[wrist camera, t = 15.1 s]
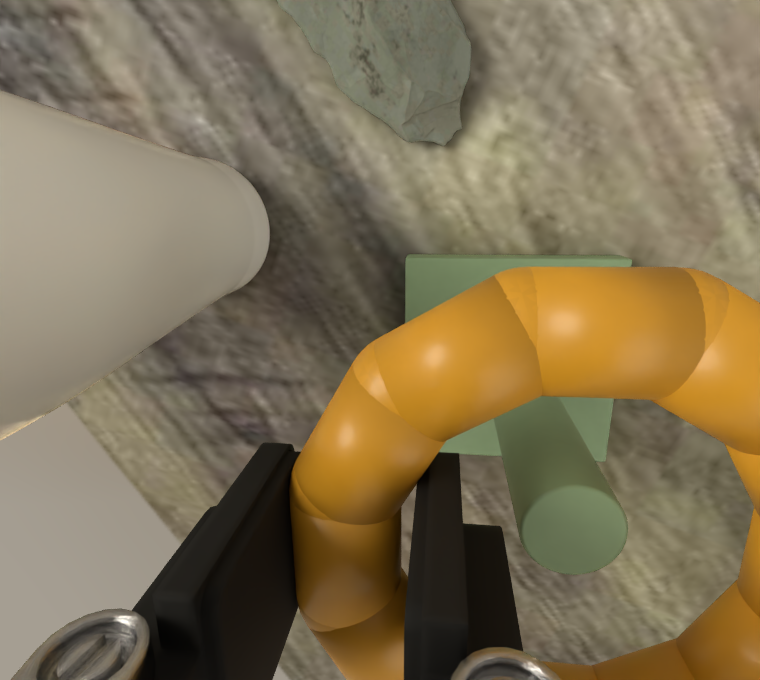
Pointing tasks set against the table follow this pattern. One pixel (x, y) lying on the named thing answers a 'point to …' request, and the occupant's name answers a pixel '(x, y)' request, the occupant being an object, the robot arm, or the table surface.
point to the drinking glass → (106, 250)
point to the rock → (393, 59)
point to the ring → (502, 394)
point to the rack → (538, 432)
